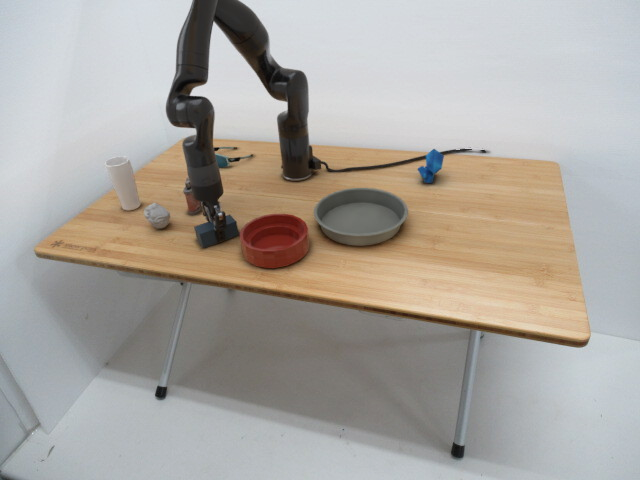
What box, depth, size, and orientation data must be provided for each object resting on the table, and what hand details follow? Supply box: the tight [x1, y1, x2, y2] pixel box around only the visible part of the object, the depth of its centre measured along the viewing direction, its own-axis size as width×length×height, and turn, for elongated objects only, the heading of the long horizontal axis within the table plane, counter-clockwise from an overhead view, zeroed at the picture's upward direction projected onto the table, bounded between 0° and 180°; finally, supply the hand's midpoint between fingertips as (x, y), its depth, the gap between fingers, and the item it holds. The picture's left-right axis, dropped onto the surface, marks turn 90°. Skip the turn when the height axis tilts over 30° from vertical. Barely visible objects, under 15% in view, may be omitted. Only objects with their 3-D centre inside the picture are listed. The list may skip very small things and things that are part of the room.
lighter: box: [182, 176, 202, 216], centre depth 134 cm, size 8×3×10 cm, turn 168°
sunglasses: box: [214, 146, 254, 168], centre depth 164 cm, size 14×15×5 cm
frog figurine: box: [143, 202, 171, 230], centre depth 127 cm, size 6×7×7 cm
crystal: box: [417, 148, 445, 184], centre depth 141 cm, size 7×9×12 cm
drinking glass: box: [104, 155, 142, 212], centre depth 136 cm, size 7×7×15 cm
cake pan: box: [313, 187, 409, 247], centre depth 123 cm, size 25×25×4 cm
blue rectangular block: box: [193, 214, 240, 249], centre depth 122 cm, size 10×4×4 cm, turn 122°
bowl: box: [239, 213, 310, 269], centre depth 115 cm, size 17×17×6 cm
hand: (217, 236), depth 123 cm, fingers closed on blue rectangular block, 4 cm apart
